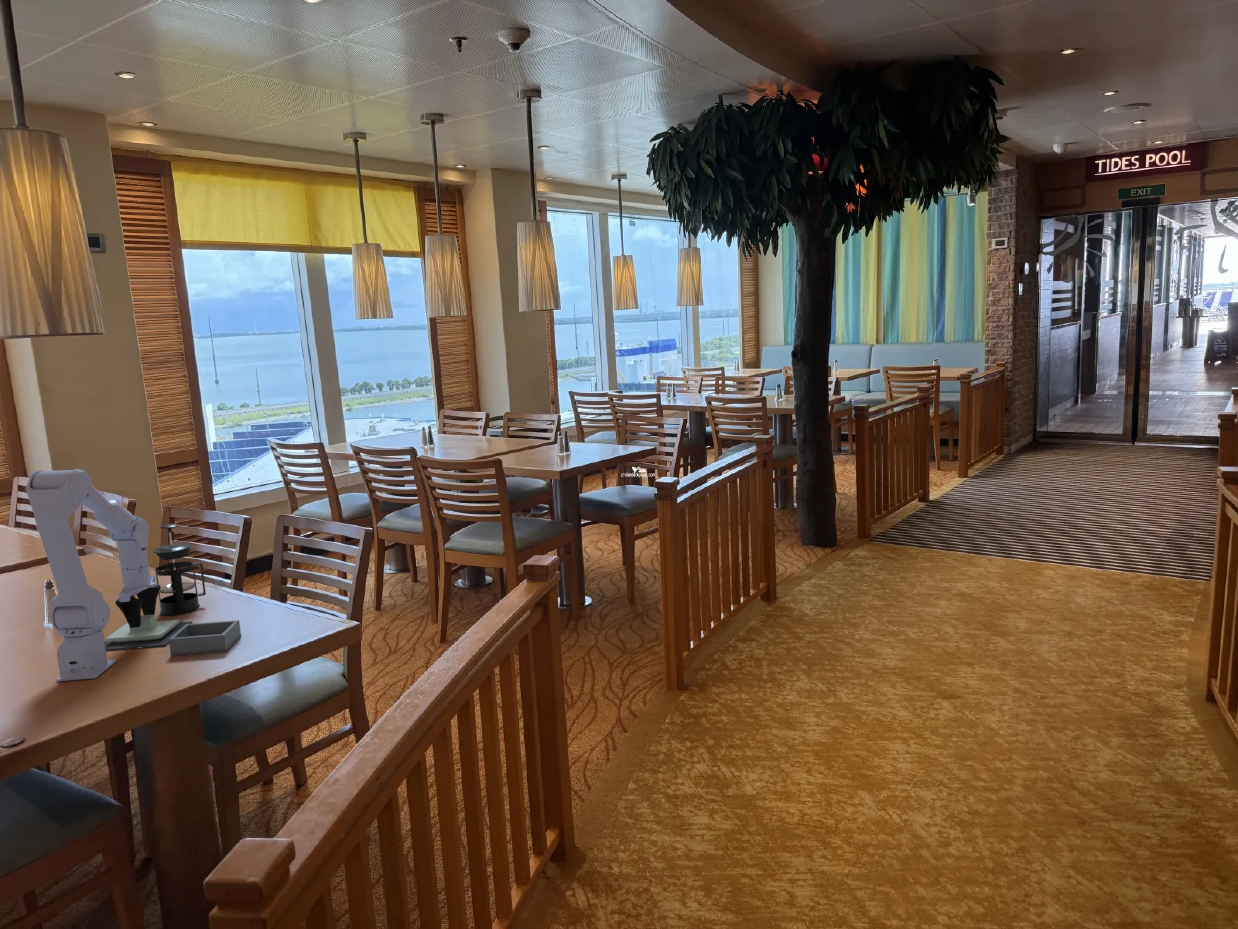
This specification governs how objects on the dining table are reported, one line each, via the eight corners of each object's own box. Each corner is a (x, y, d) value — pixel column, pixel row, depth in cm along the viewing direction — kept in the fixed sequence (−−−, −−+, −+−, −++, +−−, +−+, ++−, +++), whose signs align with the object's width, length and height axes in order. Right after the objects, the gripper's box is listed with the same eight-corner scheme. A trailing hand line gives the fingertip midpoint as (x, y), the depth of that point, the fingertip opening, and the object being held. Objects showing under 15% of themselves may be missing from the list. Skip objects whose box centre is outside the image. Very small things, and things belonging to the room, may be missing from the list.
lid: (161, 641, 200) (159, 622, 200) (106, 645, 199) (103, 626, 198) (179, 625, 210) (177, 608, 210) (127, 629, 209) (124, 611, 209)
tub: (226, 652, 192) (224, 635, 192) (170, 656, 191) (168, 639, 191) (241, 636, 202) (239, 620, 202) (188, 640, 201) (186, 624, 200)
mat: (165, 646, 198) (165, 644, 198) (92, 651, 196) (92, 650, 196) (192, 623, 214) (192, 621, 213) (125, 628, 212) (125, 626, 212)
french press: (159, 619, 218) (147, 531, 214) (155, 610, 225) (143, 525, 222) (209, 609, 224) (198, 523, 220) (204, 600, 232) (193, 518, 228)
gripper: (138, 574, 195) (146, 630, 198) (165, 557, 210) (172, 610, 212) (106, 576, 195) (114, 633, 197) (135, 559, 209) (142, 612, 211)
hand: (142, 621), depth 204 cm, fingers open, 7 cm apart
